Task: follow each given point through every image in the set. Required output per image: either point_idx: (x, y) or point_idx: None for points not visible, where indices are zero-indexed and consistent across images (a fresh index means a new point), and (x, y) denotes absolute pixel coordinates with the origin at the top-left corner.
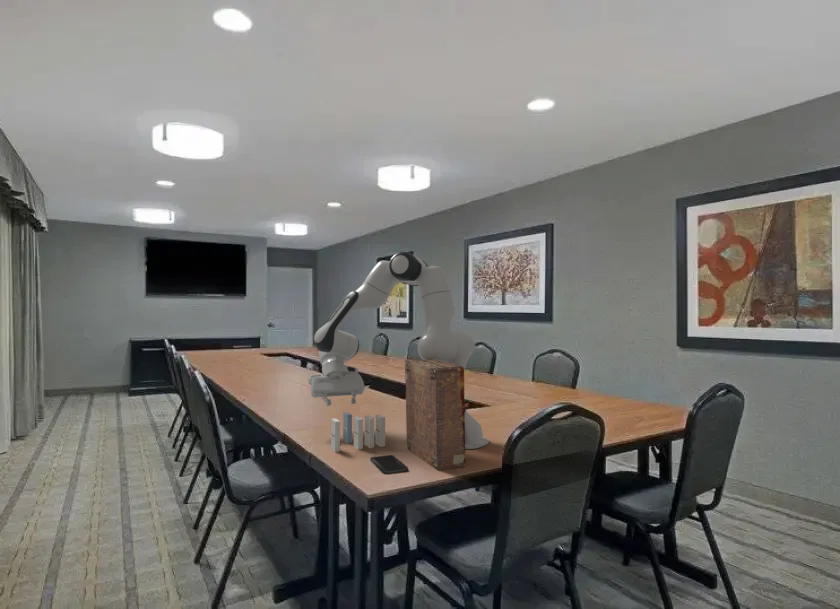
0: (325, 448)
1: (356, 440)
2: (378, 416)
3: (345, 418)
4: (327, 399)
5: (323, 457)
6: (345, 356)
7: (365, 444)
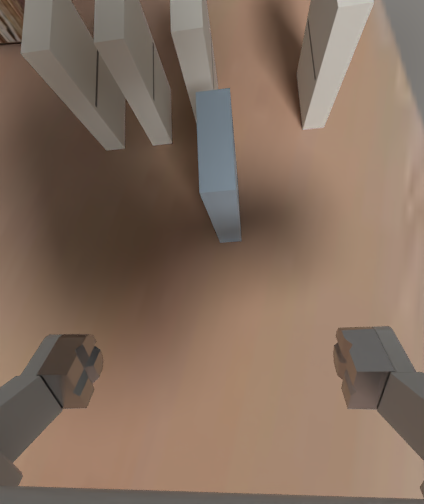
0: (346, 136)
1: (215, 81)
2: (52, 5)
3: (234, 154)
4: (402, 371)
5: (372, 21)
6: None
7: (171, 131)
